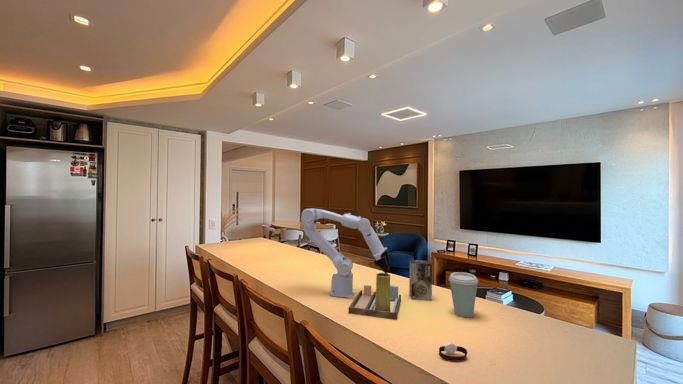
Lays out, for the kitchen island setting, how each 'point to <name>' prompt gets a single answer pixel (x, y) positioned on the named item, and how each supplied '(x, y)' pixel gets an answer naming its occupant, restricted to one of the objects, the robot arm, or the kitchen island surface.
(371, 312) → the lane rack
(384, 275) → the vase
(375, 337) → the kitchen island surface
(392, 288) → the tray
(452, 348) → the watch
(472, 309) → the disposable coffee cup
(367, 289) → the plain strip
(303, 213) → the robot arm
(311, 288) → the kitchen island surface
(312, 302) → the kitchen island surface
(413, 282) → the coffee box
